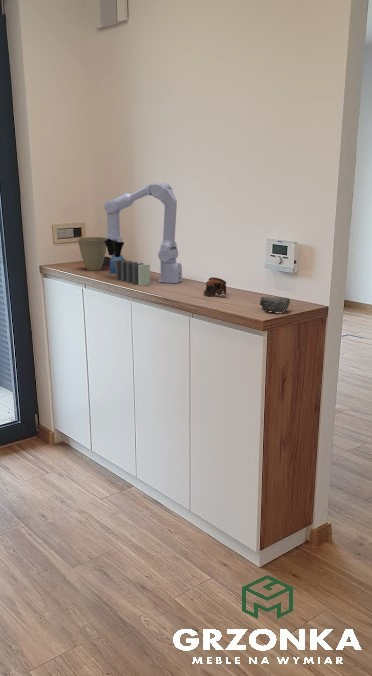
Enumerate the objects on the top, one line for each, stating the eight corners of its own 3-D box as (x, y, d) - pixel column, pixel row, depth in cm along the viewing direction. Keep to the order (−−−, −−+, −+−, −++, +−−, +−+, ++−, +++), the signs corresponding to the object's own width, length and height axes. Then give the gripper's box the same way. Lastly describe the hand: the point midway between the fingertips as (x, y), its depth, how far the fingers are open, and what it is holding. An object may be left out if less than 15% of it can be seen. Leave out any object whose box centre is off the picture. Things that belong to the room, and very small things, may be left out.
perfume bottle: (124, 271, 299) (124, 248, 295) (122, 273, 293) (121, 249, 289) (112, 271, 299) (112, 247, 296) (110, 273, 293) (109, 249, 290)
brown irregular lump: (197, 295, 242) (203, 277, 243) (216, 304, 246) (221, 285, 248) (213, 293, 231) (218, 273, 233) (232, 301, 236) (237, 282, 237)
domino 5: (138, 285, 261) (138, 265, 259) (147, 284, 264) (147, 264, 262) (140, 285, 260) (140, 265, 258) (149, 284, 263) (149, 264, 261)
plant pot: (77, 268, 310) (76, 237, 306) (105, 266, 314) (104, 236, 310) (81, 272, 296) (79, 240, 292) (110, 271, 300) (109, 239, 296)
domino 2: (121, 281, 272) (120, 261, 269) (130, 280, 275) (130, 260, 272) (123, 281, 271) (122, 262, 268) (132, 280, 274) (131, 261, 271)
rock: (294, 311, 212) (295, 298, 210) (275, 315, 206) (276, 301, 204) (269, 306, 221) (270, 292, 220) (250, 309, 215) (251, 296, 214)
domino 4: (132, 283, 265) (132, 264, 262) (141, 282, 268) (141, 263, 265) (134, 284, 264) (134, 264, 261) (143, 283, 267) (143, 263, 264)
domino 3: (126, 282, 268) (126, 262, 266) (135, 281, 271) (135, 261, 269) (128, 283, 267) (128, 263, 265) (137, 281, 270) (137, 262, 268)
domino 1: (116, 279, 275) (115, 260, 273) (125, 278, 278) (124, 259, 276) (117, 280, 274) (117, 261, 272) (126, 279, 277) (126, 260, 275)
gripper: (99, 226, 278) (100, 254, 282) (111, 228, 266) (112, 258, 270) (113, 225, 282) (114, 254, 285) (125, 227, 269) (126, 257, 273)
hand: (114, 256), depth 278 cm, fingers open, 7 cm apart
